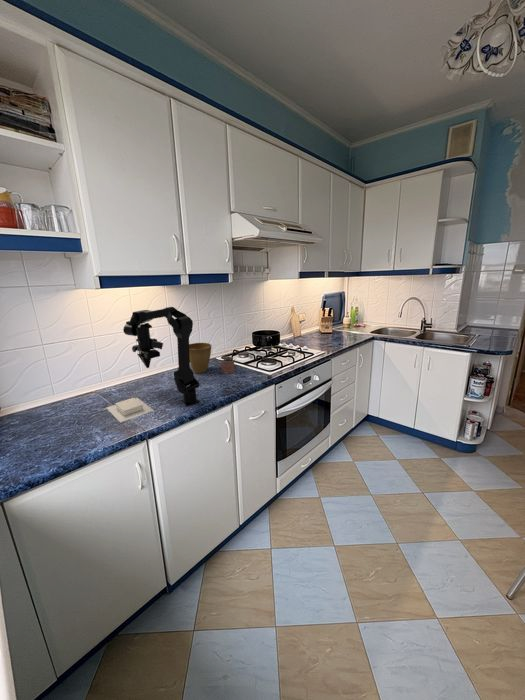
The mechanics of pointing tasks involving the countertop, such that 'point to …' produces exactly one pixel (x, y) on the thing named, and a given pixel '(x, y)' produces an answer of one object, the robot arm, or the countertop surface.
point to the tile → (129, 406)
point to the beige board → (121, 417)
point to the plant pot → (199, 356)
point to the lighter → (227, 365)
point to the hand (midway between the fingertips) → (147, 367)
